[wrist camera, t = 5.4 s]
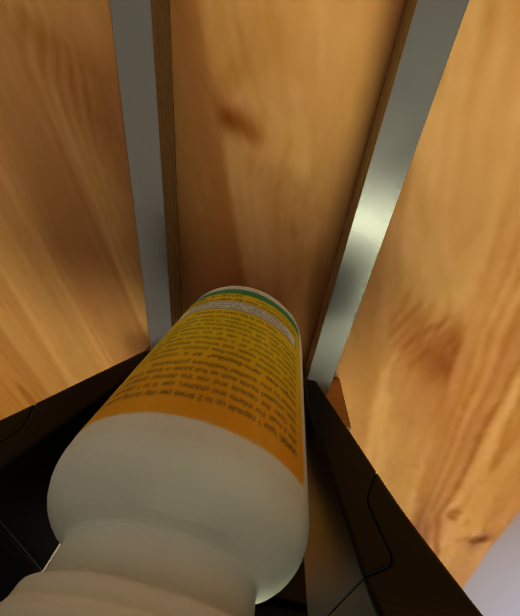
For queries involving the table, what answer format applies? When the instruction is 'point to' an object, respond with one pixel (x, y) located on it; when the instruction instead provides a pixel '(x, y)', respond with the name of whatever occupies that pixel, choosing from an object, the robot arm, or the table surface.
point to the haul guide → (367, 194)
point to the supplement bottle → (185, 476)
